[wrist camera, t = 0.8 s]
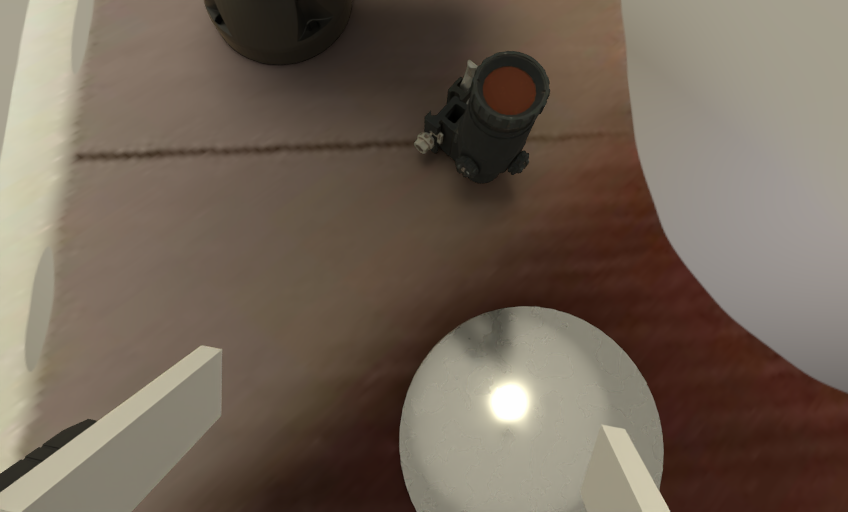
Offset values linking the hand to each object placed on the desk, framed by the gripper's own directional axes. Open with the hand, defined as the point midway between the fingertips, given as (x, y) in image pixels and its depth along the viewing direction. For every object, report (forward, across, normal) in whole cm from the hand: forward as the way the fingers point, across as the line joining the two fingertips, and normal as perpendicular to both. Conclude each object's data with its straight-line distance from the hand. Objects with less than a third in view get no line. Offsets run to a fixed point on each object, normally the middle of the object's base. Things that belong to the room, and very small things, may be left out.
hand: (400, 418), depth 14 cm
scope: (+31, +1, +8) cm, 33 cm away
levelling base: (+21, +10, -15) cm, 27 cm away
